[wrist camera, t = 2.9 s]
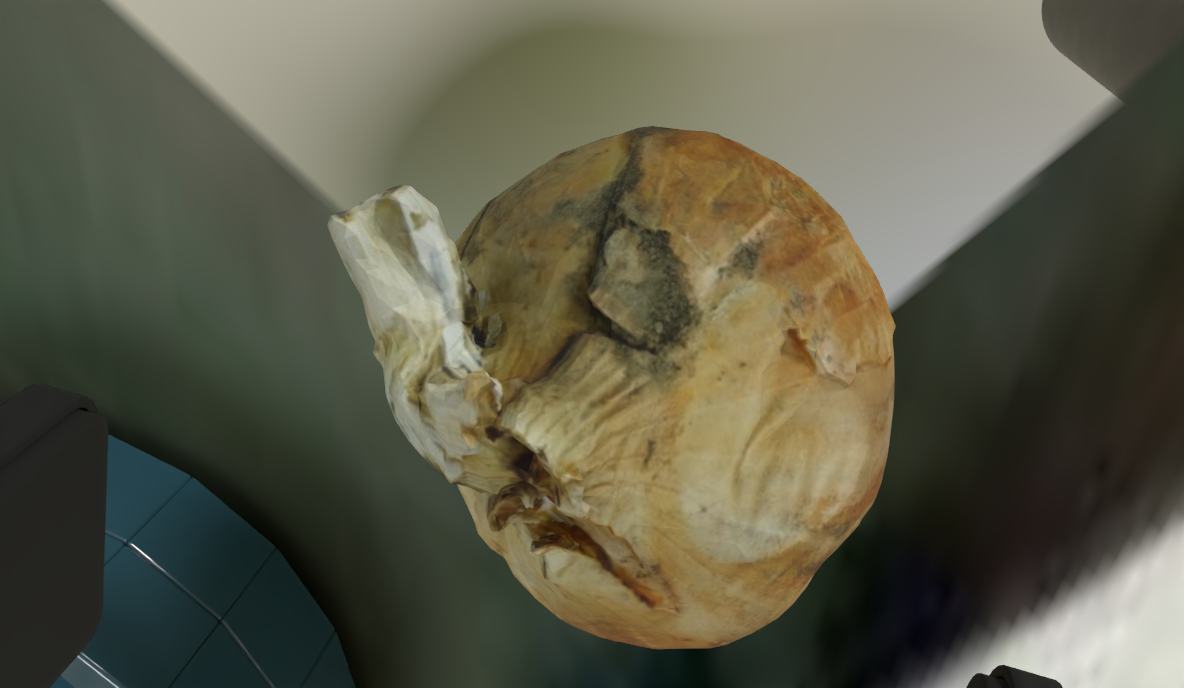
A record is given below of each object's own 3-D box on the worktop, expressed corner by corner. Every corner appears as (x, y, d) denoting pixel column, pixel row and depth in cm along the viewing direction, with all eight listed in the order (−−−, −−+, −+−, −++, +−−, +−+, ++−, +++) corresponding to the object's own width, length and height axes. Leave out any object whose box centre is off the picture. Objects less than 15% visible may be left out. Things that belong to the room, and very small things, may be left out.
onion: (451, 455, 22) (275, 751, 15) (478, 55, 18) (265, 187, 11) (826, 530, 21) (835, 884, 14) (929, 125, 17) (1014, 316, 10)
